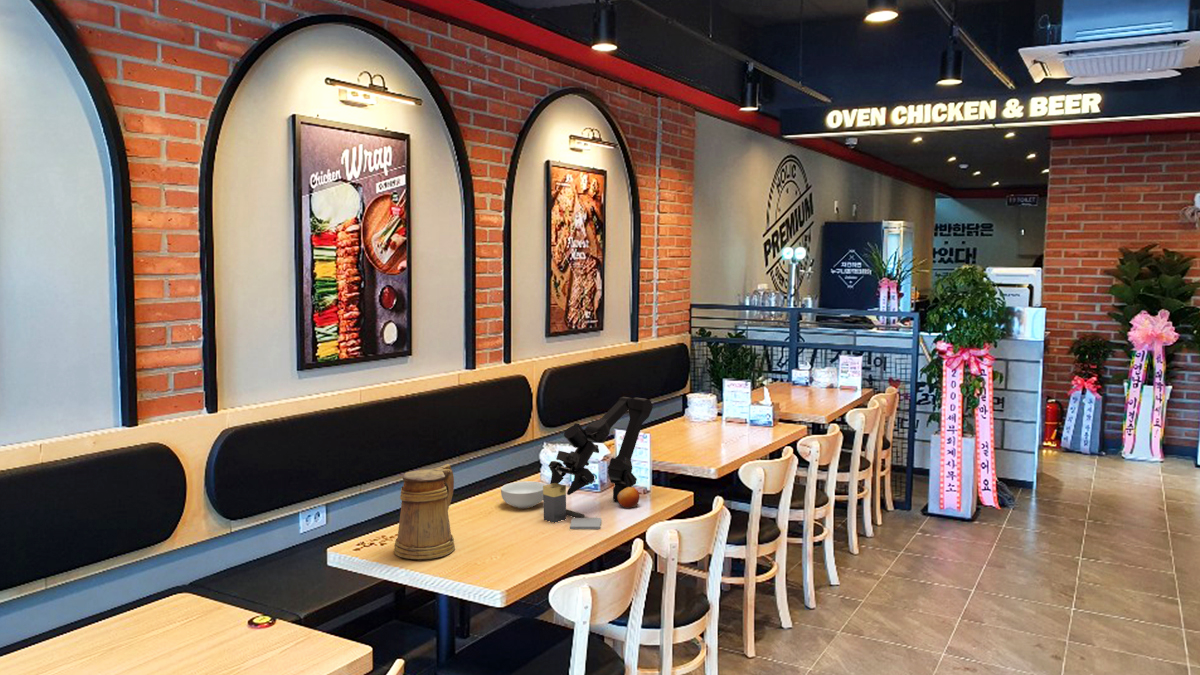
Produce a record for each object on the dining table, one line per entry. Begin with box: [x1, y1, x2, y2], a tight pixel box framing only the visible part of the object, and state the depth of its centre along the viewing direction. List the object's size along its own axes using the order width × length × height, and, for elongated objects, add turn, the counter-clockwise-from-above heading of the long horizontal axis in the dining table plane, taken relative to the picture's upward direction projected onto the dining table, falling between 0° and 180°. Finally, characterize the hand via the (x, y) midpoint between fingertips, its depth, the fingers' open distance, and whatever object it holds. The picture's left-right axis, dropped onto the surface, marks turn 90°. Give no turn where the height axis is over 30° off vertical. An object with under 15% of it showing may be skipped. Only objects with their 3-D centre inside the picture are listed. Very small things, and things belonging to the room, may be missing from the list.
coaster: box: [569, 517, 602, 530], centre depth 299 cm, size 10×10×1 cm
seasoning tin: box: [542, 483, 567, 524], centre depth 305 cm, size 6×6×12 cm
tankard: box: [393, 463, 456, 560], centre depth 276 cm, size 18×24×25 cm
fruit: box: [617, 486, 640, 509], centre depth 321 cm, size 8×8×8 cm
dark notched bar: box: [566, 508, 586, 518], centre depth 311 cm, size 14×2×2 cm, turn 44°
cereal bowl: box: [500, 480, 547, 509], centre depth 324 cm, size 17×17×7 cm
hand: (558, 492), depth 306 cm, fingers open, 9 cm apart
